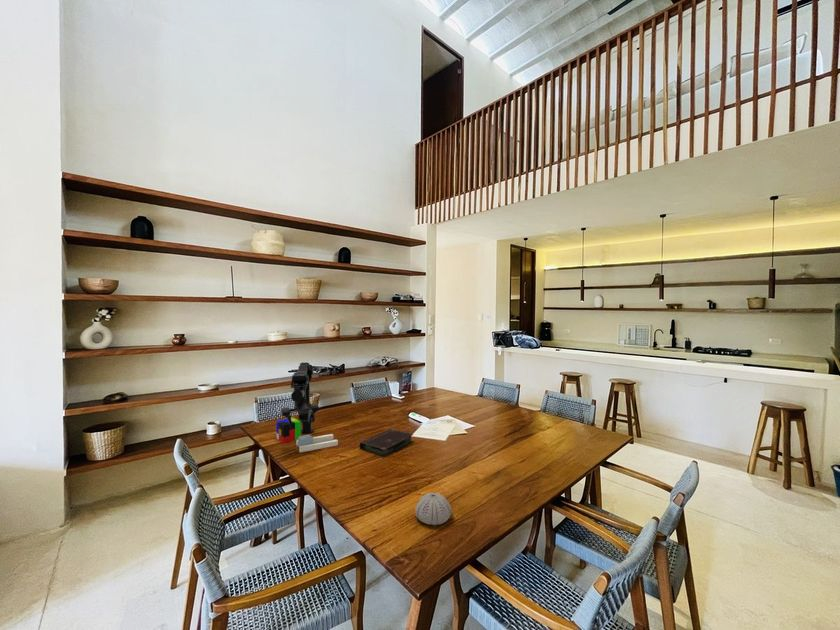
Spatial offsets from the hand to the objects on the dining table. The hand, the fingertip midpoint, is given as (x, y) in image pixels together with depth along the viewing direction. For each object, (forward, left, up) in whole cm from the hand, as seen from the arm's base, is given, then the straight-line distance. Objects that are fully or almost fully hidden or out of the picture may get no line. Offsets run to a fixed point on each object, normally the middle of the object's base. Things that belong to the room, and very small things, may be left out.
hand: (300, 425), depth 183 cm
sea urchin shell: (+84, +32, -13) cm, 91 cm away
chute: (-2, +9, -13) cm, 16 cm away
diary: (+17, +43, -14) cm, 48 cm away
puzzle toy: (-19, -3, -13) cm, 23 cm away
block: (-2, +3, -13) cm, 13 cm away
